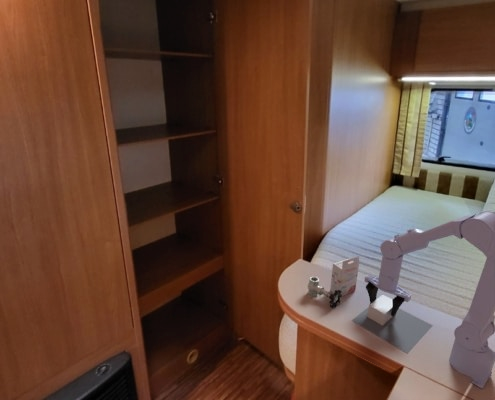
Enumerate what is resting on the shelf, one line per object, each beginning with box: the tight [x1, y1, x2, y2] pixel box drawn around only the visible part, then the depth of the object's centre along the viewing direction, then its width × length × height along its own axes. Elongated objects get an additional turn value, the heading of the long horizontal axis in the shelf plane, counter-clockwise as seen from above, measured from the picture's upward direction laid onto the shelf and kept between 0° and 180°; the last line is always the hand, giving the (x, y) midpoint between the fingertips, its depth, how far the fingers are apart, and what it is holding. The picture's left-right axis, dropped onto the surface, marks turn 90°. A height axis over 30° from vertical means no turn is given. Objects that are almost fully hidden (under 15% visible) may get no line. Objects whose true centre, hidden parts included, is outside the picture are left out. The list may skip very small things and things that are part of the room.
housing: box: [367, 294, 394, 326], centre depth 108 cm, size 9×5×4 cm, turn 131°
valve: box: [307, 276, 343, 309], centre depth 117 cm, size 7×7×12 cm
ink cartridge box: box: [329, 256, 360, 297], centre depth 120 cm, size 9×5×15 cm, turn 119°
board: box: [351, 306, 433, 354], centre depth 105 cm, size 18×18×4 cm
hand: (382, 309), depth 108 cm, fingers open, 7 cm apart
